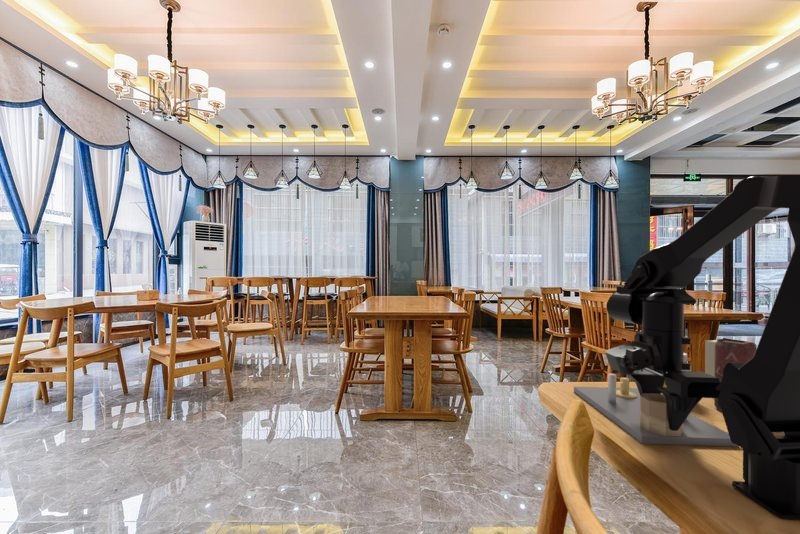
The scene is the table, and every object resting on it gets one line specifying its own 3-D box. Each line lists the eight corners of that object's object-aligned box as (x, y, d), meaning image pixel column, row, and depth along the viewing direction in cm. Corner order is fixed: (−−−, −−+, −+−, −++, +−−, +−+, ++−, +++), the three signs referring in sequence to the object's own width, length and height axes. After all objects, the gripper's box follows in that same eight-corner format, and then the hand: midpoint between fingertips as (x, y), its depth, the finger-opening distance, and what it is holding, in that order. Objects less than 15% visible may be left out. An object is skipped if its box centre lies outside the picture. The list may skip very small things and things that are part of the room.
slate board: (739, 446, 58) (739, 404, 58) (641, 443, 59) (642, 401, 59) (641, 393, 83) (641, 364, 83) (573, 391, 84) (574, 362, 84)
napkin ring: (690, 436, 58) (691, 405, 59) (655, 435, 59) (655, 404, 59) (667, 422, 64) (667, 393, 64) (634, 421, 64) (634, 392, 64)
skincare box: (725, 399, 80) (725, 343, 80) (703, 393, 84) (703, 340, 84) (745, 397, 81) (746, 342, 81) (723, 391, 86) (723, 339, 86)
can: (766, 419, 69) (766, 344, 69) (727, 415, 71) (727, 343, 71) (743, 407, 75) (743, 339, 75) (707, 404, 77) (708, 337, 77)
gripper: (587, 320, 71) (586, 401, 71) (648, 338, 53) (647, 448, 52) (646, 321, 71) (645, 403, 71) (728, 340, 52) (728, 450, 52)
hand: (661, 422), depth 61 cm, fingers closed on napkin ring, 5 cm apart
